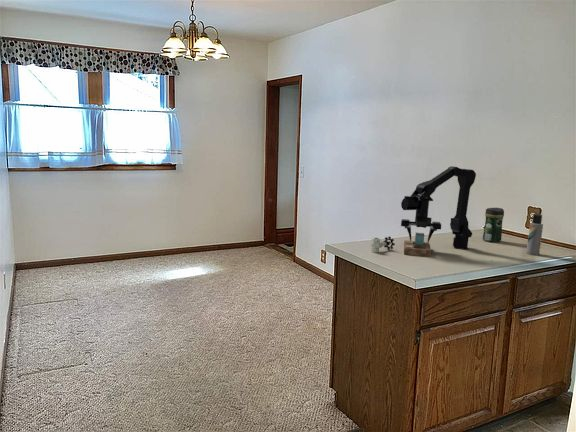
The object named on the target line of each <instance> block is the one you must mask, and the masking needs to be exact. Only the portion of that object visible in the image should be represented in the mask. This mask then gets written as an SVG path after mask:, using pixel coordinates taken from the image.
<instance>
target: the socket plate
mask: <svg viewBox="0 0 576 432" xmlns="http://www.w3.org/2000/svg"><path fill="white" fill-rule="evenodd" d="M403 255H408V256H417V257H427V256H428V258H431V257H432V256H431V255H432V249H431V244H430V242H428V241H427V242H426V241H424V244H423V245H417V244H415V240H411V241H410V240H405V239H404V242H403Z"/></svg>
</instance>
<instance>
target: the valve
mask: <svg viewBox="0 0 576 432" xmlns="http://www.w3.org/2000/svg"><path fill="white" fill-rule="evenodd" d="M394 241H395V240H394V238H392V237H391V236H385V237H384V241H381V238H380V237H372V238H371V244H370V248H371V249H370V251H371V253H380V248H383V247H384V248H386V249H387V251H390V250H393V249H394V247H393V246H396V245H395V243H394Z"/></svg>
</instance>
